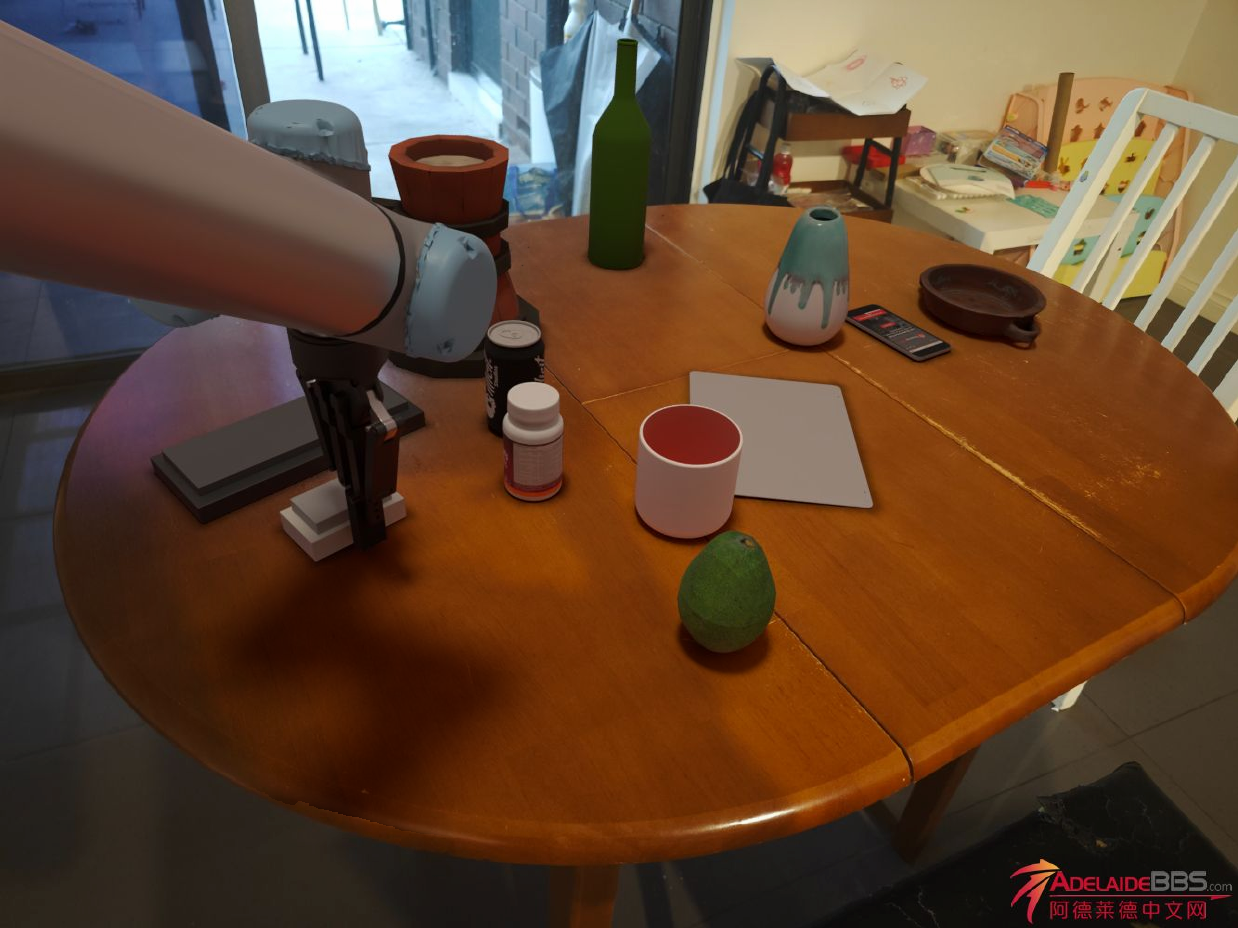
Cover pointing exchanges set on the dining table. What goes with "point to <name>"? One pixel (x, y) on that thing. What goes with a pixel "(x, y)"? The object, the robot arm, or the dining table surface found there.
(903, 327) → the smartphone
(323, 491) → the stepped grey block
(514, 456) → the pill bottle
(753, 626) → the fruit
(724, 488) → the cup
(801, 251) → the vase
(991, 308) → the dish
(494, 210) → the tankard
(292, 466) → the dark grey stepped slab
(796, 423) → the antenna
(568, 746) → the dining table surface
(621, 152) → the wine bottle
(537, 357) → the beverage can
